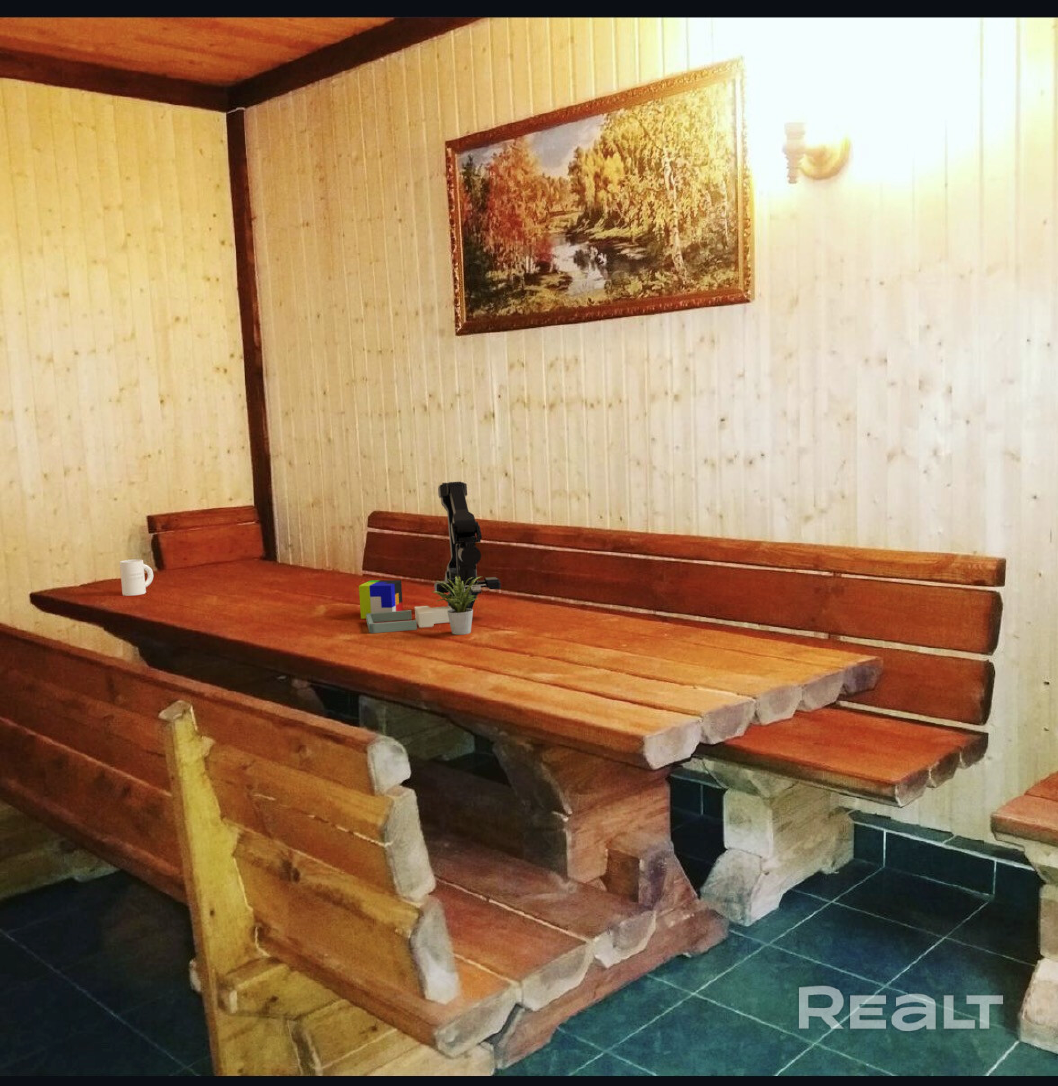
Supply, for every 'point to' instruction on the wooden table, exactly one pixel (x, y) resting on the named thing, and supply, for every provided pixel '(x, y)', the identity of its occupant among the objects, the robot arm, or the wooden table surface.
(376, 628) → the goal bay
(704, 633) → the wooden table surface
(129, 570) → the mug
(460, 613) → the house plant
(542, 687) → the wooden table surface
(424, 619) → the t block
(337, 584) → the wooden table surface
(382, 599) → the puzzle toy
